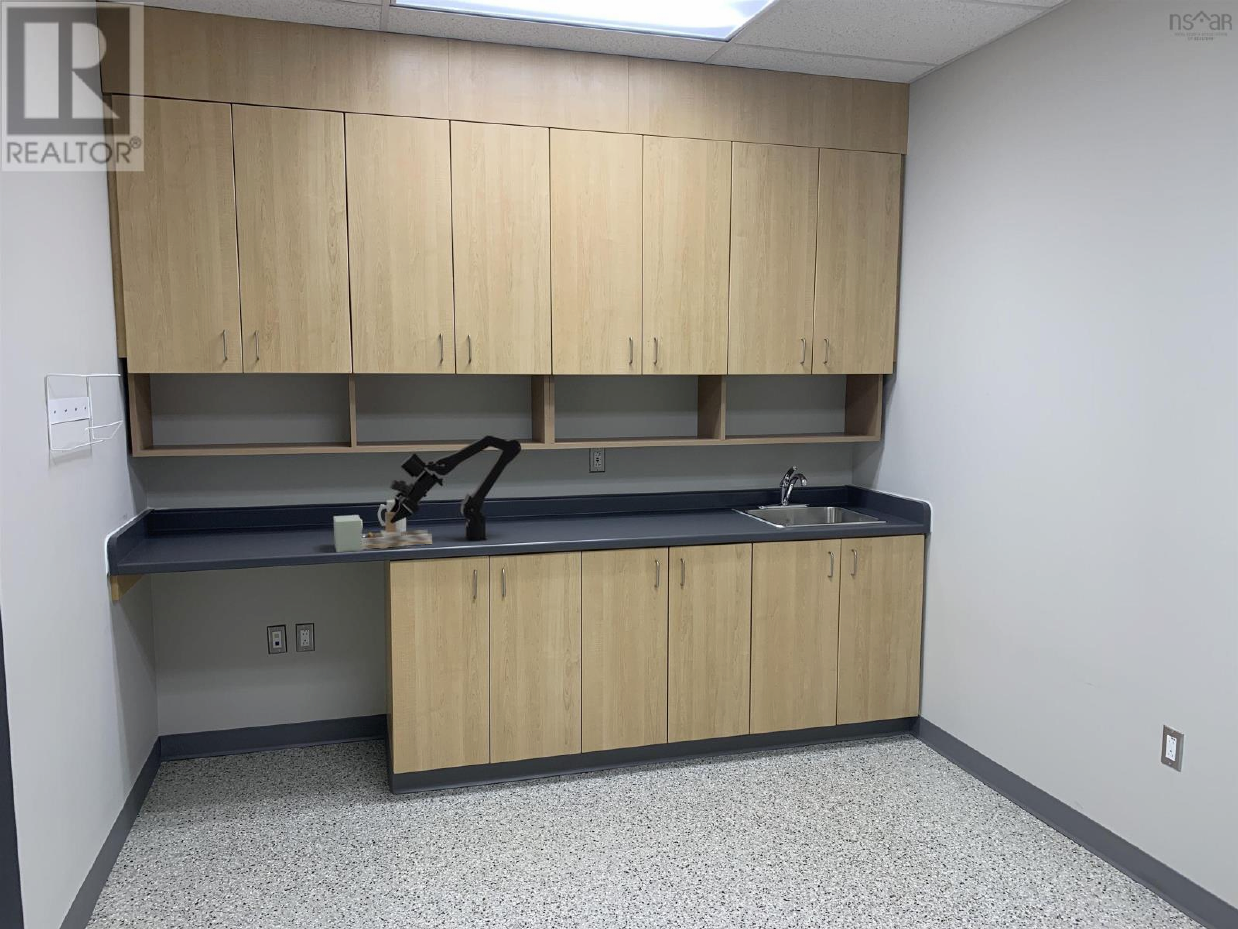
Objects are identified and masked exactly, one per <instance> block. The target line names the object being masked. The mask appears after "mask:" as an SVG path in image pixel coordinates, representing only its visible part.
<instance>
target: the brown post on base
mask: <svg viewBox="0 0 1238 929" xmlns="http://www.w3.org/2000/svg"><path fill="white" fill-rule="evenodd" d="M394 514H395V512H387V511H386V512H385V513H384V515H385V519H384V520H385V522H386V526H385V530H380V533H381V537H391V536H401V532H400V530H399V529H397V530H396V522H395V523H391V522H390V520H391V519H392V517H393V516H394Z"/></svg>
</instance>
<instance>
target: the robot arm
mask: <svg viewBox="0 0 1238 929" xmlns="http://www.w3.org/2000/svg"><path fill="white" fill-rule="evenodd" d="M489 447H490V448H495V449H497V450H498V453H497V457H496V459H495V461H494V462H493V463H492V466H490V468H489V470H488V471H487V472H486V474H485V476H484V477H483V478H482V480H481V482H480V484H479V485H478V486H477V488H476V490H475V491H474V492H473V493H471V494H469V493H466V495H465V497H464V498H463V500H462V501H461V502H460V504H461V505H460V513H461V515H463V516H464V517H465V519H466V520H467V521H465V526H464V538H465V540H467V541H469V542H473V541H474V542H475V541H484V540H485V541H487V540H488V538H487V536H486V535H487V534H486V533H487V530H486V528H487V527H486V519H487V518H486V516H485V515H484V514H483V513H482V512H481V510H482V509H483V505H484V502H485V499H486V497H487V496H488V494H489V493H490V491H491V490H492V488H493V486H494V485H495V483H496V482H497V481H498V479H499V478H500V477H501V474H502V473H503V471H504V470H505V469H506V467H507V466H508V465H509V464H510V463H511V462H512V461H514V459H516V458H517V457H518V456H519V454H520V453H521V452H522V451H521V450H522V446H521V443H520V441H518V440H517V439H514V438H506V439H503V438H500V437H497V436H493V435H491V434H485V435H483V436H482V437H481V438H478V439H476V440H475V441H473V442H471V443H469V444H468V445H466V446H464V447H462V448H460V449H459V450H457V451H455V452H452V453H449V454H445V455H443V456H440V457H437V458H435V459H434V460H432V461H426V462H424V461H423V460H422V459H421V458H420V457H419V456H418V454H417V453H415V452H413V453H412V454H411V455H409V456H408V457H406V458H405V459H404V460H403V461H402V462H401V463H400V465H399V467H400V468H401V469H402V471H404V472H405V473H406V474H408V476H409V477H411V478H413V477H415V478H417V479H416V480H415V481H414V482H410V483H409V484H407V483H406V481H404V480H402V479H399V480H398V479H394V478H393V480H392V482H391V484H390V486H389V488H390V489H391V490H393V491H397V492H396V493H395V494H394V496H393V500H395V503H394V505H393V507H392V509H391V510H390V512H395V514H394V516H393V517H392V519H391V520H390V522H391V523H395V522H397V521H399V520H401V519H404V518H406V519H407V518H409V517H411V516H413V515H416V514H417V513H418V512H419V511H420V507H419V503H420V501H421V500H422V499H424V498H426V497H427V494H428V493H429V492H430V491H431V490H433V488H434V487H435V485H439V486H441V487H443V486H444V485H443V482H444V481H443V477H439V476H446V475H448V474H449V473H450V472H452V471H453V470H454V469H455V468H456V467H457V466H458V465H459V464H461V463H463V462H464V461H467V459H470V458H471V457H473V456H475V455H476V454H479V453H480V452H482V451H484V450H486V449H488V448H489ZM425 468H426V469H427V470H428V471H427V470H426V469H425ZM430 471H431V473H429V472H430ZM435 473H436V474H437V475H436V474H435ZM438 475H439V476H438Z"/></svg>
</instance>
